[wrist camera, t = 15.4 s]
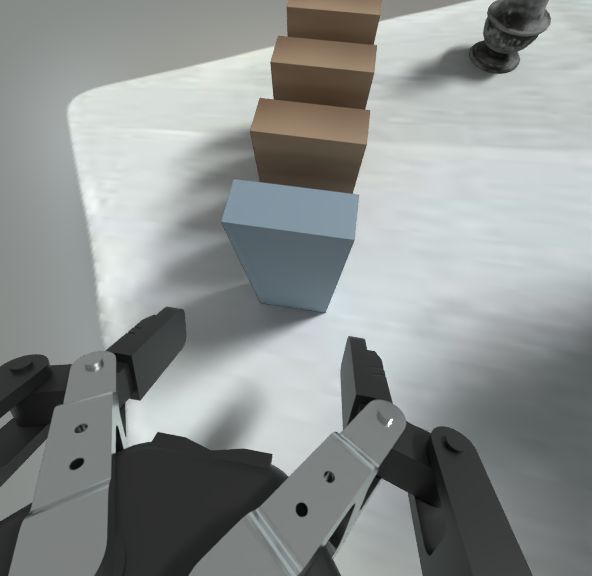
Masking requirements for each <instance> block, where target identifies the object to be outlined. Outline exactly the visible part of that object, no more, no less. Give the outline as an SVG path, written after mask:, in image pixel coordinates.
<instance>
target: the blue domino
mask: <svg viewBox="0 0 592 576" xmlns="http://www.w3.org/2000/svg"><path fill="white" fill-rule="evenodd" d="M358 201H359V195H357V194H349V193H341V192H333V191H325V190H317V189H309V188H302V187H294V186H286V185H278V184H270V183H262V182H254V181H246V180H238V179H233V182H232V186H231V189H230V193H229V196H228V200H227V203H226V206H225V210H224V213H223V217H222V220H221V223H222V225H223V227H224V229H225V231H226V233H227V235H228V237H229V239H230V241H231V243H232V245H233V247H234V249H235V251H236V254H237V256H238V258H239V260H240V262H241V264H242V266H243V268H244V270H245V272H246V274H247V276H248V278H249V280H250V282H251V284H252V286H253V288H254V291H255V293H256V295H257V297H258V299H259V301H260V303H265V304H271V305H278V306H285V307H291V308H298V309H304V310H311V311H317V312H324V313H326V310H327V308H328V305H329V303H330V300H331V298H332V295H333V293H334V290H335V288H336V285H337V283H338V280H339V278H340V275H341V273H342V270H343V268H344V265H345V263H346V260H347V258H348V255H349V253H350V250H351V248H352V245H353V243H354V240H355V230H356V220H357V211H358Z"/></svg>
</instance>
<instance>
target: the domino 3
mask: <svg viewBox="0 0 592 576" xmlns="http://www.w3.org/2000/svg"><path fill="white" fill-rule="evenodd" d="M369 118H370V110H363V109H354V108H345V107H336V106H327V105H318V104H309V103H300V102H291V101H282V100H273V99H264V98H260V99H259V102H258V106H257V109H256V112H255V116H254V119H253V122H252V126H251V129H250V133H251V138H252V143H253V149H254V154H255V159H256V164H257V169H258V175H259V180H260V182H262V183H270V184H278V185H286V186H294V187H302V188H309V189H317V190H325V191H333V192H341V193H349V194H353V190H354V187H355V183H356V180H357V176H358V173H359V169H360V166H361V163H362V159H363V156H364V152H365V149H366V145H367V137H368V127H369Z"/></svg>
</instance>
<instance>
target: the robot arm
mask: <svg viewBox="0 0 592 576" xmlns="http://www.w3.org/2000/svg"><path fill="white" fill-rule="evenodd" d="M185 341H186V324H185V313H184V310H183V309H178V308H172V307H165V308H164V309H163V310H162V311H160V312H159V313H158V314H157V315H152V316H150V317H148V318H146V319H144V320H142V321H141V322H140V323H138V324H137V325H136V326H135V328H132V329H131V330H130V331H129V332H128V333H126V334H125V335H124V336H123V337H121V338H120V339H119V340H118V341H117V342H115V343H114V344H113V345H112V346H111V347H109V348H108V349H107V350H106V351H98V352H93V353H90V354H87V355H84V356H83V357H80V358H79V359H77V360H76V361H75V362H74V363H73V364H68V365H52V366H50V363H49V360H48V358H47V357H46V356H44V355H37V354H35V355H27V356H22V357H19V358H16V359H13V360H11V361H9V362H7V363H5V364H4V365H2V366H1V367H0V418H1V417H2V416H3V415H5V414H6V413H7V412H8V411H11V413H12V415H13V417H14V418H13V419H12V420H10V421H9V422H8V423H7V424H6V425H4V426H3V427H2V428H1V429H0V487H1V486H2V485H3V484H4V483H5V482H6V480H7V479H8V478H9V477H10V476H11V475H12V474H13V473H14V472H15V471H16V470H17V469H18V468H19V467H20V466H21V465H22V464H23V463H24V462H25V461H26V460H27V459H28V458H29V456H31V455H32V453H33V452H34V451H35V450H36V449H37V448H38V447H39V446H40V445H41V444H42V443H43V442H44V441H45V440H46V439H47V442H46V447H45V451H44V455H43V460H42V464H41V469H40V473H39V477H38V481H37V486H36V490H35V494H34V499H33V502H32V503H31V504H29V505H27V506H26V507H24V508H22V509H20V510H19V511H17V512H16V513H14V514H12V515H10V516H9V517H7V518H5V519H4V520H2V521H0V576H341V575H340V573H339V571H338V569H337V567H336V565H335V563H334V561H333V559H334V557H335V556H336V554H337V553H338V551H339V549H340V548H341V546H342V545H343V543H344V542H345V540H346V538H347V537H348V535H349V533H350V531H351V529H352V527H353V525H354V524H355V522H356V520H357V518H358V517H359V515H360V513H361V512H362V510H363V509H364V507H365V506H366V504H367V503H368V501H369V499H370V498H371V496H372V495H373V493H374V492H375V490H376V489H377V487H378V485H379V484H380V482H381V481H382V479H384V480H386V481H388V482H390V483H392V484H394V485H395V486H397V487H399V488H401V489H403V490H405V491H406V492H408V497H409V502H410V508H411V513H412V519H413V524H414V530H415V535H416V541H417V546H418V552H419V557H420V563H421V568H422V574H423V576H532V573H531V571H530V569H529V567H528V565H527V562H526V560H525V558H524V556H523V553H522V551H521V549H520V547H519V544H518V542H517V540H516V538H515V536H514V533H513V531H512V529H511V527H510V524H509V522H508V520H507V518H506V516H505V513H504V511H503V509H502V507H501V504H500V502H499V500H498V498H497V495H496V493H495V491H494V489H493V487H492V484H491V482H490V480H489V478H488V475H487V473H486V471H485V469H484V467H483V464H482V462H481V460H480V458H479V455H478V453H477V451H476V449H475V447H474V446H473V444H472V443H471V442H470V441H469V440H468V439H467V438H466V437H465V436H464V435H462V434H461V433H459V432H458V431H456V430H454V429H451V428H448V427H437V428H435V429H434V430H433V431H432V433H430V432H427V431H425V430H423V429H421V428H419V427H416V426H414V425H412V424H410V423H409V422H407V421H406V419H405V416H404V414H403V413H402V412H401V410H400V409H399V408H398V407H396V406H395V405H394V404H393V403H392V399H391V395H390V391H389V387H388V384H387V380H386V377H385V372H384V370H383V364H382V360H381V359H380V357H379V356H378V355H377V353H376V352H375V351H370V350H367V347H366V342H365V339H363V338H357V337H351V336H349V337H348V339H347V343H346V347H345V351H344V355H343V359H342V364H341V396H342V417H343V431H342V432H341V433H340V434H338V433H337V432H333V433H332V434H331V435H330V436H329V437H328V438H327V439H326V440H325V441H324V442H323V443H322V444H321V445H320V446H319V447H318V448H317V449H316V450H315V451H314V452H313V453H312V454H311V455H310V456H309V457H308V458H307V459H306V460H305V461H304V462H303V463H302V464H301V465H300V466H299V467H298V468H297V469H296V470H295V471H294V472H293V473H292V474H291V475H290V476H289V477H288V476H287V475H286V474H285V473H284V472H283V471H282V470H280V469H279V468H277V467H275V466H274V465H272V464H271V462H272V454H269V453H264V452H259V451H253V450H248V449H231V450H215V451H212V450H209V449H207V448H205V447H203V446H201V445H199V444H197V443H195V442H193V441H191V440H189V439H188V438H186V437H181V436H176V435H170V434H165V433H160V432H157V434H156V436H155V437H154V439H153V440H152V442H146V443H141V444H137V445H134V446H131V447H129V443H128V417H127V405H126V401H127V400H128V399H134V400H141V399H142V398H143V397H144V395H145V394H146V393H147V392H148V390H149V389H150V388H151V387H152V385H153V384H154V383H155V382H156V380H157V379H158V378H159V377H160V375H161V374H162V373H163V372H164V370H165V369H166V368H167V367H168V366H169V364H170V363H171V362H172V361H173V359H174V358H175V357H176V356H177V354H178V353H179V352H180V351H181V349H182V348H183V346H184V344H185Z"/></svg>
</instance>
